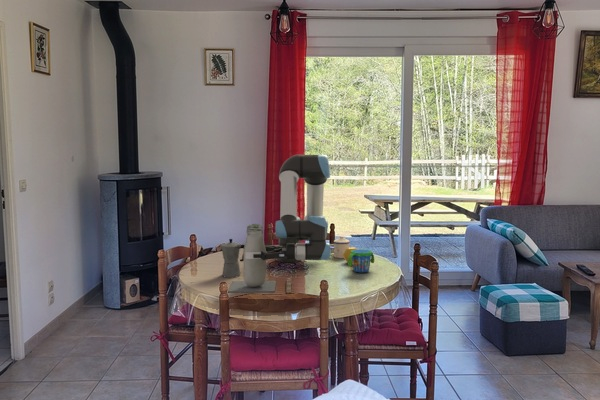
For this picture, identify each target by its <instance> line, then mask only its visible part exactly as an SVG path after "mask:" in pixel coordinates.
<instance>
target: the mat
mask: <svg viewBox="0 0 600 400" xmlns="http://www.w3.org/2000/svg"><path fill="white" fill-rule="evenodd" d="M276 284H277V281H276V280H265V282H264V284H263V285H261V286H259V287H250V286H248V285H247V284H246V283H245V281H244V280H233V281H231V284H230V286H229V288H228V290H227V293H275V291H276Z"/></svg>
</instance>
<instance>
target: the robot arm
mask: <svg viewBox="0 0 600 400" xmlns="http://www.w3.org/2000/svg"><path fill="white" fill-rule="evenodd" d="M329 162H330V161H329V156H328V155H326V154H319V153H318V154H294V155H291V156H290V157H289V158H287V159H286V160H285V161H284V162H283V163H282V165H281V166H280V169H279V173H278V179H279V182H280V212H279V213H280V214H279V215H280V216H279V217H280V218H279V219H280V220H276V221H275V225H274V226H275V231H274V232H275V236H276V237H277V238H278V245H276V244H275V245H272V244H265V248H266V252H264V253H263V251H261V252H246V259H262V260H266V261H267V260H275V261H277V262H278V263H286V264H287V263H289V264H291V263H299V262H304V261H326V260H327V261H328V260H329V259H331V254H332V253H331V251H332V250H331V246H330V245H331V243H330V242H327V240H326V239H327V236H328V229H329V228H328V227H329V223H328V222H329V221H328V219H326V218H325V216H324V213H323V212H324V191H325V190H324V188H325V187H324V186H325V183H326V182H327V180H328V179H329V178H331V173H330V163H329ZM299 179H303V181H304V182H305V183H306V215H305V216H304V217H303V219H301V218H300V217H299V216H298V202H297V201H298V197H297V196H298V187H297V186H298V182H299ZM306 241H307V242H306Z"/></svg>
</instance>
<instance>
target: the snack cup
mask: <svg viewBox="0 0 600 400" xmlns="http://www.w3.org/2000/svg"><path fill="white" fill-rule="evenodd" d="M352 262H353V264H352ZM374 263H375V254H374V252H373V251H372V250H370V249H357V250H352V251H351V254H350V256H349V259H348V262H347V265H348V266H349V267H352V268H353V271H354V272H355V273H361V274H362V273H367V272H370V266H371V264H374Z"/></svg>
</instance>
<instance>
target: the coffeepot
mask: <svg viewBox="0 0 600 400" xmlns="http://www.w3.org/2000/svg"><path fill="white" fill-rule="evenodd" d="M218 246H219V247H220V249H221V251H222V258H223V267H222V275H221V276H222V277H223V276H225V277H224V278H227V277H233V278H237V277H236V276H238V277H240V276H241V275H240V274H241V273H242V271H241V268H240V262H244V260H243V259H244V258H243V256H244V255H243V254H242V257H241V258H240V259H239V257H240V250H242V249H243V250H244V246H245V244H240V243H238V242H237V243H236V242H233V238H229V242H225V243H220V244H218ZM239 261H240V262H239Z"/></svg>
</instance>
